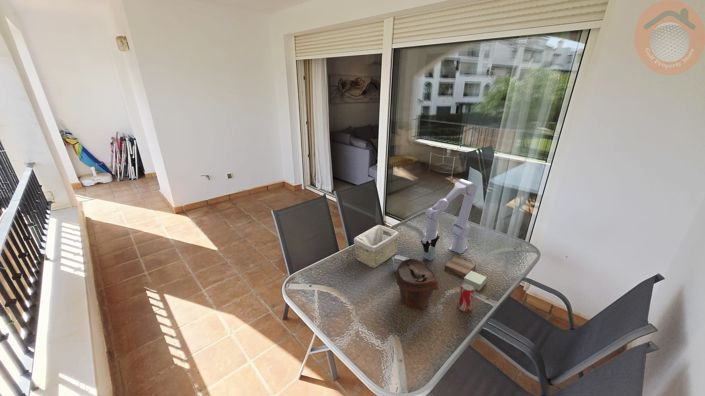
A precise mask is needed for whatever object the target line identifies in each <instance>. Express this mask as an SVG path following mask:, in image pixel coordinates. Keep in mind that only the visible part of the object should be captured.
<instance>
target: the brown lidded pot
mask: <svg viewBox="0 0 705 396" xmlns="http://www.w3.org/2000/svg"><path fill="white" fill-rule="evenodd" d="M394 278H396V281H395V283H396V285H397V286H398V289H399V294H400V300H401V303H402V304H403V305H404V306H405V307H407V308H409V309H411V310H412V309H413V310H418V311H419V310H423V309H425V308H427V306H428V305H429V303H430V300H431V297H432V294H433V292H434V291H438V290H439V281H438V279H437V277H436V275H435V272H434V271H433V270H432V269H431V268H430V267H429V265H427V264H426V263H424V262H423V261H420V260H419V259H416V258H415V259H414V258H410V259H406V260H404V261H402V262H401V263H400V264H399V266H398V268H397V270H396V272H395V275H394Z"/></svg>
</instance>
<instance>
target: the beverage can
mask: <svg viewBox="0 0 705 396" xmlns="http://www.w3.org/2000/svg"><path fill="white" fill-rule="evenodd" d="M475 295H476V289H474V286H473V285H472V284H470V283H462V284H461V285H460V287H459V293H458V299H457V300H458V301H457V307H458V309H459V310H460V311H463V312H466V313H470V312H472V310H473V307H474V300H475V297H476V296H475Z"/></svg>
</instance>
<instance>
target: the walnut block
mask: <svg viewBox="0 0 705 396" xmlns="http://www.w3.org/2000/svg"><path fill="white" fill-rule="evenodd" d="M476 266H477V264H476V263H474V262H471V261H468V260H466V259H463V258H461V257H458V256H456V255H455V256H453V257H452V258H451V259H450V260H449V261H448V262H446V263H445V264H444V270H445V271H449V272H451V273H454V274H455V275H456V276H457V275H458V276H460V277H462V278H464V277H465V276H466V275H467V274H468V273H469V272H470V271H473V272H474V270H475V269H476Z"/></svg>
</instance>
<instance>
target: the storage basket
mask: <svg viewBox="0 0 705 396" xmlns="http://www.w3.org/2000/svg"><path fill="white" fill-rule="evenodd" d="M384 232H386V233H389V234H390V236H389V235H386V234H384ZM398 242H399V231H397V230H394V229H392V228H389V227H386V226H385V225H381V224H377V225H375V226H373V227H371V228H369V229H368V230H366V231H364V232H363V233H360V234H359V235H356V236H355V237H354V238H353V243H354V249H355V254H356V255H355V256H356V259H357V261H359V262H361V263H363V264H365V265H367V266H369V267H370V268H373V269H375V268H377V267H379V266H380V265H381V264H383V263H384V262H385V261H388V259H390V258H391V257H393V256H394V255H396V254H397V250H398Z"/></svg>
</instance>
